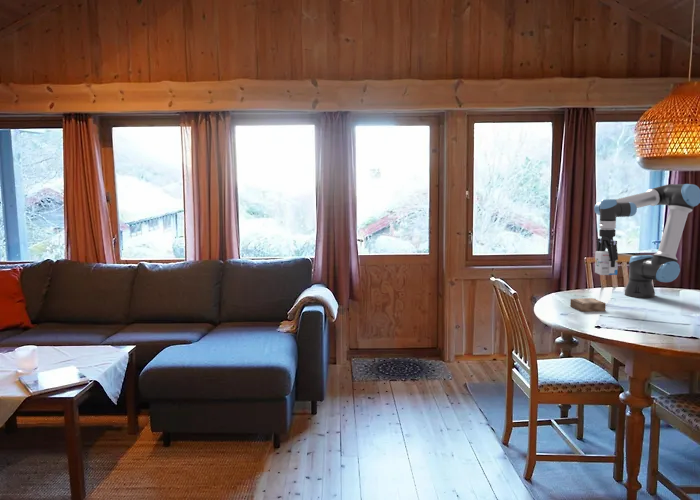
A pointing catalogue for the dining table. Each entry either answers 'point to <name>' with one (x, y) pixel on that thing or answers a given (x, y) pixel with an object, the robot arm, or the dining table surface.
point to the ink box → (603, 263)
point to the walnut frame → (587, 304)
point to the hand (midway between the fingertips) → (606, 271)
